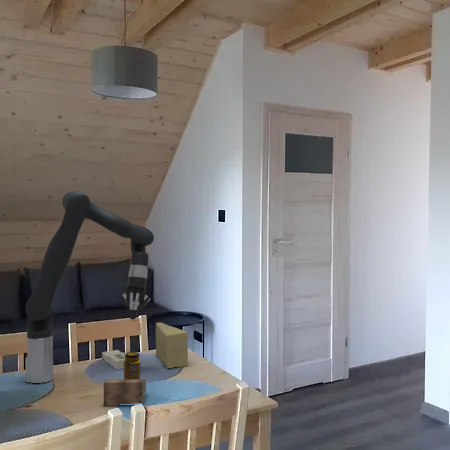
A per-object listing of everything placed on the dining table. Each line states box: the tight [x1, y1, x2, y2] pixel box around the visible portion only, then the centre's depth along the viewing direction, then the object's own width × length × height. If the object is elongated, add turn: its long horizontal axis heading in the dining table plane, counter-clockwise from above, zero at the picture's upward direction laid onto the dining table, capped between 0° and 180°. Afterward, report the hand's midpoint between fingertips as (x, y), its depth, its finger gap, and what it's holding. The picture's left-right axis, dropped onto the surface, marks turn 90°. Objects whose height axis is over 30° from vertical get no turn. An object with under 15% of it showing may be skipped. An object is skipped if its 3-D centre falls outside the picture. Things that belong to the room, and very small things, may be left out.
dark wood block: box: [103, 378, 147, 407], centre depth 178 cm, size 13×10×8 cm
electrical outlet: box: [101, 349, 126, 368], centre depth 219 cm, size 7×4×18 cm
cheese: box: [155, 322, 189, 369], centre depth 221 cm, size 22×10×15 cm, turn 30°
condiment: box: [123, 351, 141, 380], centre depth 191 cm, size 7×8×12 cm
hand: (132, 319), depth 207 cm, fingers closed
